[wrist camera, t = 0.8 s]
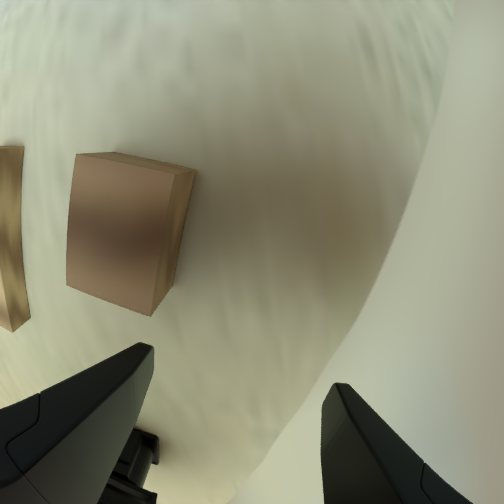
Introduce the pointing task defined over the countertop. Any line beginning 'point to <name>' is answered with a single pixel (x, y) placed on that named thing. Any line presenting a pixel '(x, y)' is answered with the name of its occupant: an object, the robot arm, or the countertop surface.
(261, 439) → the countertop surface
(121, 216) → the block
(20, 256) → the tan rectangular bar
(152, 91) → the countertop surface
